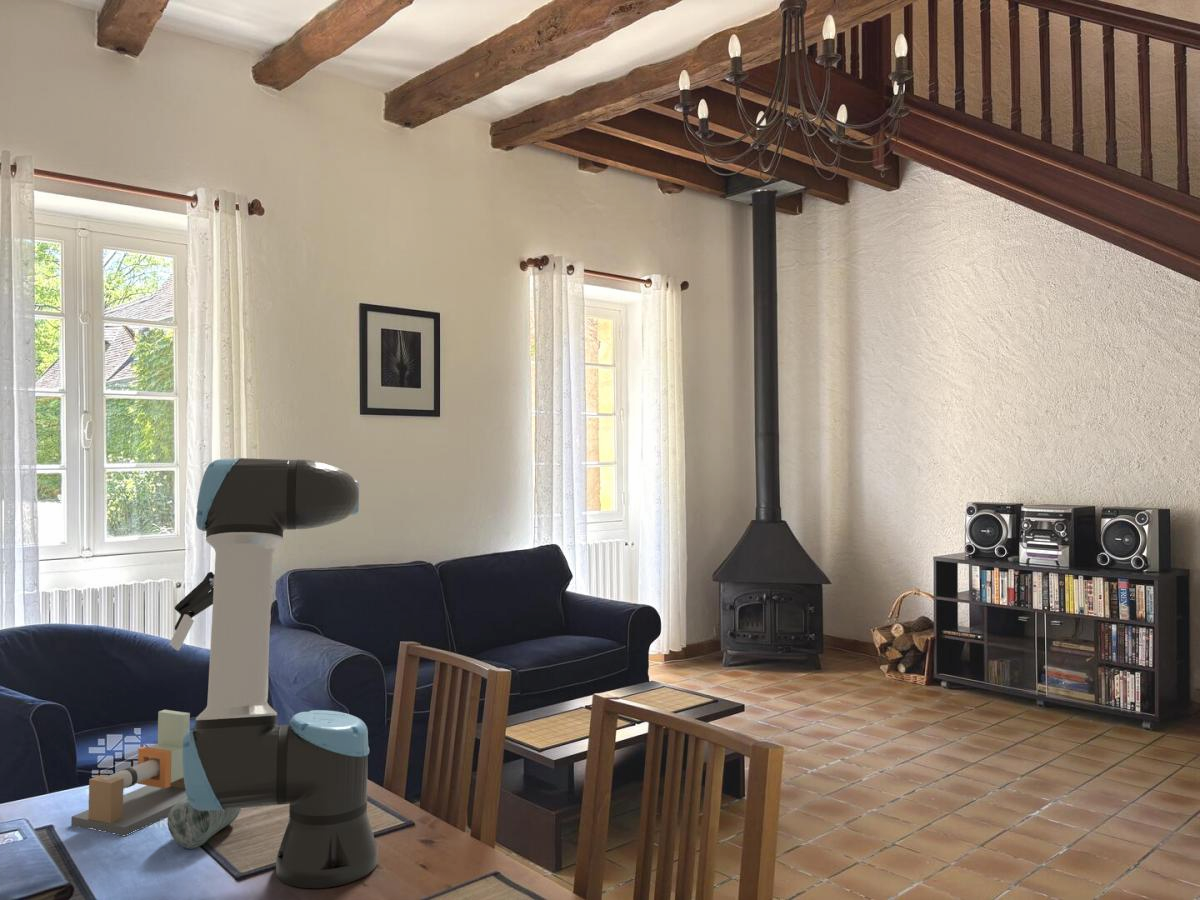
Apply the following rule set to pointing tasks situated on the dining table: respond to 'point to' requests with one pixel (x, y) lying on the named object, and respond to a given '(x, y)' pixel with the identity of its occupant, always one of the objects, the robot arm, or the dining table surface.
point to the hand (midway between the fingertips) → (204, 652)
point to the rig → (128, 800)
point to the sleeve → (173, 738)
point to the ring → (164, 766)
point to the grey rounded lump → (196, 823)
